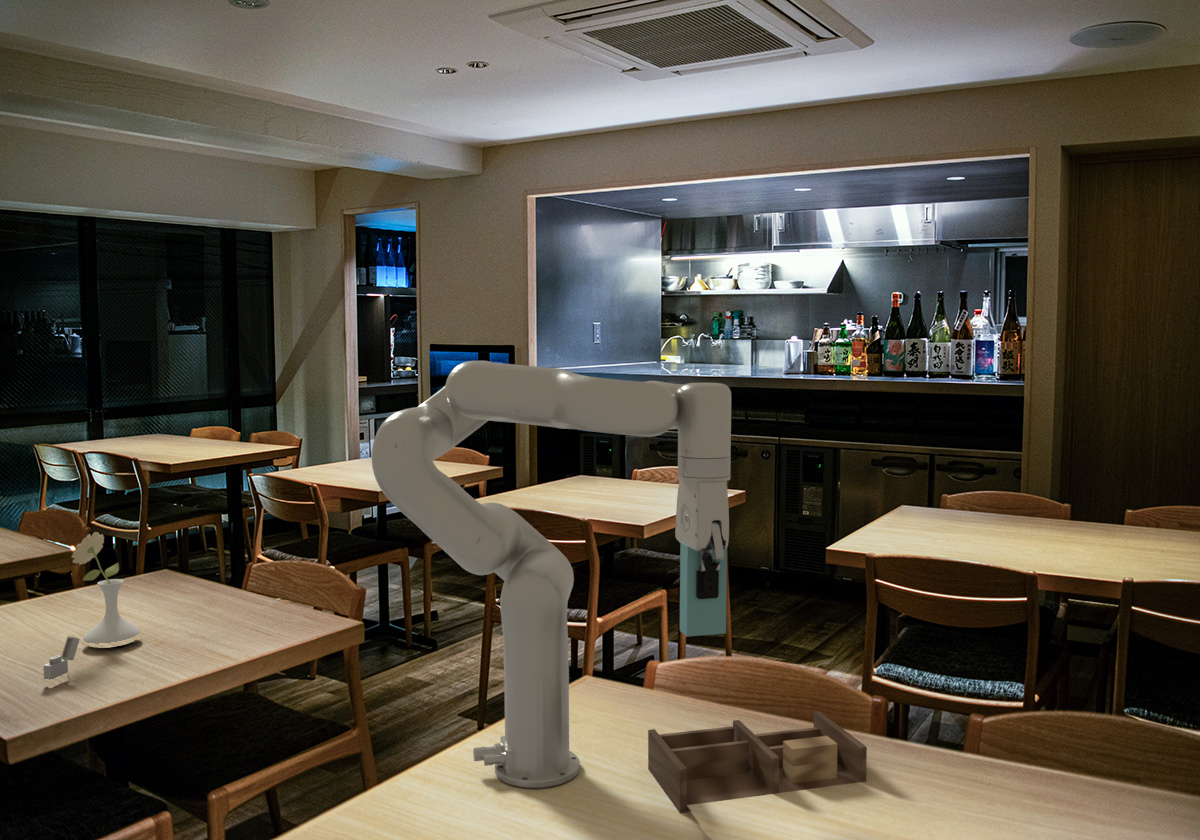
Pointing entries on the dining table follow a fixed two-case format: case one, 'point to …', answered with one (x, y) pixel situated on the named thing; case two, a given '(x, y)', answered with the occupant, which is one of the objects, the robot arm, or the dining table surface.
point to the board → (700, 612)
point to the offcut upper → (809, 751)
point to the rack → (742, 762)
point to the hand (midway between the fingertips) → (702, 593)
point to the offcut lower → (809, 772)
